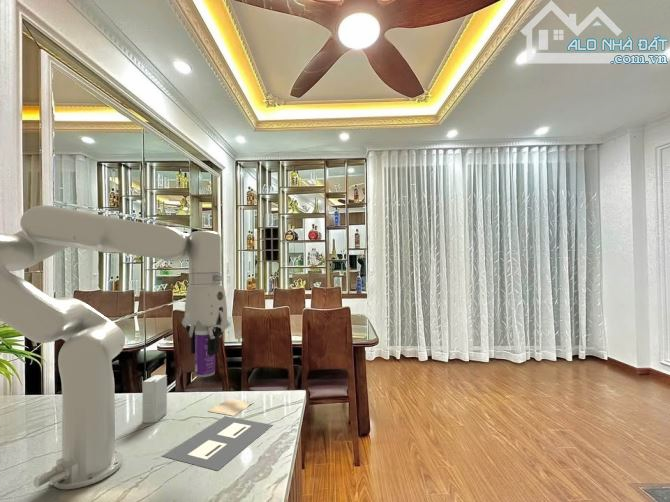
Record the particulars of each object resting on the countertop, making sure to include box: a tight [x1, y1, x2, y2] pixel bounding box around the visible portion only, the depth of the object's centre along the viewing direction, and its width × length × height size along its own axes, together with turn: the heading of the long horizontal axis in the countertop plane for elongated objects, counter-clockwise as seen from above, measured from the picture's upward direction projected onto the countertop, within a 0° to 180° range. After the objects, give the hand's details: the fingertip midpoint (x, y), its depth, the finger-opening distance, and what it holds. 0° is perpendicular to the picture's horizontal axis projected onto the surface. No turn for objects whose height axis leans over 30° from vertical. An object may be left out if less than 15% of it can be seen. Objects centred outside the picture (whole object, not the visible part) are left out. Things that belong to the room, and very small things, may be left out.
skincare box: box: [141, 374, 168, 424], centre depth 100 cm, size 6×4×12 cm
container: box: [194, 320, 216, 378], centre depth 83 cm, size 5×5×15 cm
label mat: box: [162, 415, 273, 472], centre depth 86 cm, size 22×17×1 cm
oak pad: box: [207, 398, 251, 417], centre depth 106 cm, size 10×10×1 cm
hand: (205, 352), depth 83 cm, fingers closed on container, 4 cm apart
